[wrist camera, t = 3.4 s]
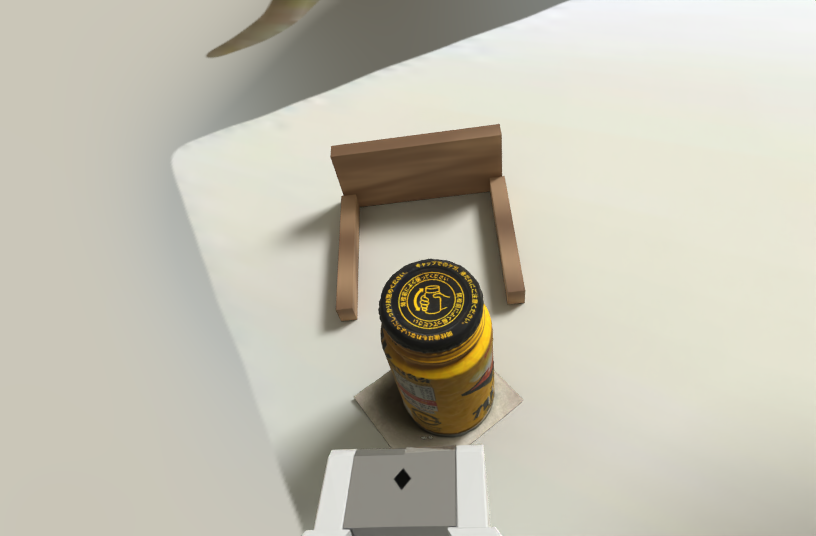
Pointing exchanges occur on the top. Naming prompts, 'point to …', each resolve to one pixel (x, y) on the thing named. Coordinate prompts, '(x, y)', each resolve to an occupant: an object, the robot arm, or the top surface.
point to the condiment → (436, 360)
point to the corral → (421, 192)
